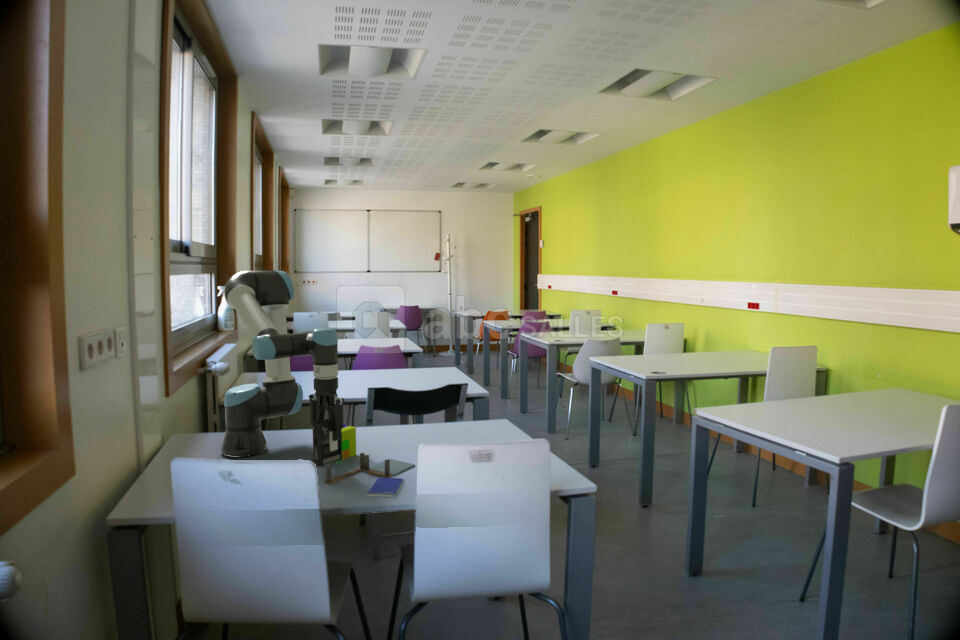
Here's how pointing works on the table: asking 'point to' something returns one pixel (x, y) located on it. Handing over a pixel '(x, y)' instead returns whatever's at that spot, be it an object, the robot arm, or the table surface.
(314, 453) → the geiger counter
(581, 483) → the table surface
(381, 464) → the pad
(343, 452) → the puzzle toy
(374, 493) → the blue book
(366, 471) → the narrow gate
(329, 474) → the wide gate
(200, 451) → the table surface
